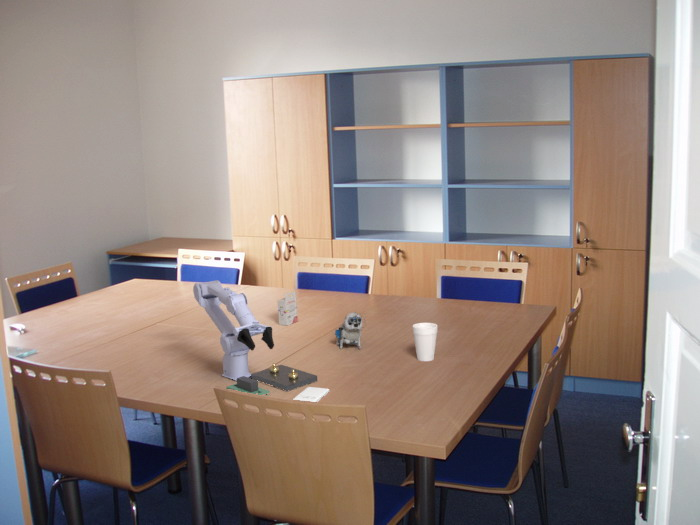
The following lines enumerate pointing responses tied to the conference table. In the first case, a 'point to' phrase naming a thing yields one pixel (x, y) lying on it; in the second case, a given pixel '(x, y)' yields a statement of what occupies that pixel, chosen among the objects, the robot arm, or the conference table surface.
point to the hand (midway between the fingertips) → (263, 347)
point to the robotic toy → (350, 330)
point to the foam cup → (425, 340)
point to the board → (260, 390)
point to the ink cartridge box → (288, 309)
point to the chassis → (284, 377)
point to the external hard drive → (312, 394)
